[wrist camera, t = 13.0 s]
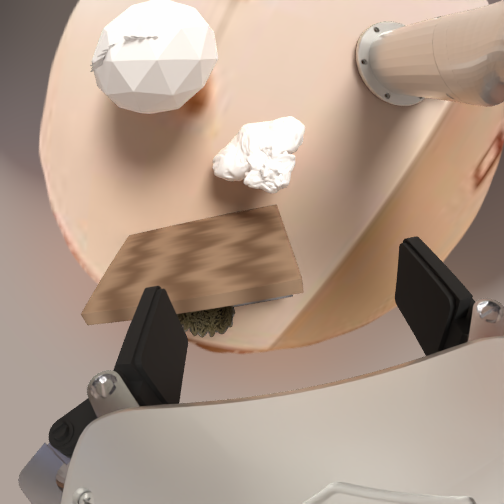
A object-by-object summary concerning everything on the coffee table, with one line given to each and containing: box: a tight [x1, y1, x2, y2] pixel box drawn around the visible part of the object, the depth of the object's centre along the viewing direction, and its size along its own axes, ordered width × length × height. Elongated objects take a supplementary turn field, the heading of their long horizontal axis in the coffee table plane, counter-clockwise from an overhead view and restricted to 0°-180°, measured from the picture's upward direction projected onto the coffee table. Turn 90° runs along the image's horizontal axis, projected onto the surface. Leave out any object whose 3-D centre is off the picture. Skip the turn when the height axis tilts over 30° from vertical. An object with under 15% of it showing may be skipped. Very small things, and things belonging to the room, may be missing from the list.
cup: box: [177, 305, 235, 337], centre depth 38 cm, size 8×7×8 cm
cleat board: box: [81, 205, 303, 325], centre depth 37 cm, size 22×12×18 cm, turn 101°
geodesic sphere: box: [90, 0, 218, 114], centre depth 25 cm, size 14×14×14 cm
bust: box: [213, 116, 305, 193], centre depth 34 cm, size 12×8×11 cm
